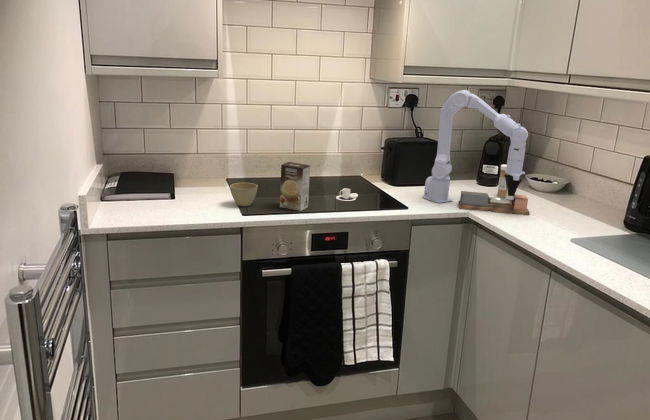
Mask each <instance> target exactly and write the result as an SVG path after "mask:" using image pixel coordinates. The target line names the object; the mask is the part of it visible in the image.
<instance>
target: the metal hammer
mask: <svg viewBox="0 0 650 420" xmlns="http://www.w3.org/2000/svg"><path fill="white" fill-rule="evenodd" d="M513 198H514V196H508V187H507V194H506V198H503V197H498V196H489V197H488V204H495V205H506V206H514V203H515V199H513Z"/></svg>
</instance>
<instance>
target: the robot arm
mask: <svg viewBox="0 0 650 420" xmlns="http://www.w3.org/2000/svg"><path fill="white" fill-rule="evenodd" d="M465 107H467V108H468V109H476V110H477V111H479V112H480V113H482V114H483V115H485V117H487V118H488V119H490V120H491V121H493V126H494V128H495V129H497V130H499V131H500V133H503V135H505V136H506V137H509V138H510V145H509V147H508V152H507V153H508V155H507V160H506V165H507V167H506V170H505V173H507V174H509V175H504V176H505V180H506V190H507V187H508V196H514V195H515V194H516V192H517V190H518V187H519V186H520V184H521V183H522V181H523V179H522V178H521V175H526V172H525V171H523V167H524V162H525V161H524V160H525V155H526V146H527V142H526V141H527V140H528V137H529V132H528V130H527V129H526V127H525V126H521V123H517V122H516V121H515V120H513V119H512V118H511V115H510V114H506V113H498V112H497V111H496V110H495V109H494V108H492V107H491V106H490V105H489V104H488V103H486V102H485V101H484V100H483V99H482V98H480V97H479V96H478V95H476V94H474V93H472V92H471V91H470V90H468V89H462V90H458V91H456V92H454V93H452V94H451V95H450V96H449V97H448V99H447V100H446V102H445V103H444V104H443V105H442V107H441V108H440V115H439V124H438V125H439V126H438V136H437V139H438V140H437V151H436V157H435V160H434V165H433V167H432V168H431V176H428V177H427V178H426V180H425V182H424V183H425V184H424V189H423V190H424V192H423V196H422V198H423V199H424V200H429V201H432V202H434V203H437V204H441V203H443V204H444V203H448V202H449V203H450V202H453V199H451V198H449V192H450V184H451V177H450V174H451V173H452V171H453V165H452V163H451V144H452V133H453V121H454V115H455V114H456V113H457V112H459V110H460V109H462V108H465Z"/></svg>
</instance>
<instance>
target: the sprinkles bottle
mask: <svg viewBox="0 0 650 420" xmlns="http://www.w3.org/2000/svg"><path fill="white" fill-rule="evenodd" d="M506 167H507V164H501V165H500V174H499V177H498V179H499V180H498V184H497V194H496V197H499V198H506V194H507V190H506V180H505V176H504V175H509V174H507V173H505V170H506Z"/></svg>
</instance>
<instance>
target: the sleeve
mask: <svg viewBox="0 0 650 420" xmlns="http://www.w3.org/2000/svg"><path fill="white" fill-rule="evenodd" d="M488 197H490V195H489V193H488V192H478V191H468V190H467V191H466V190H465V191H464V190H461V191H460V197H459V201H460V205H469V206H480V207H487V205H488Z"/></svg>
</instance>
